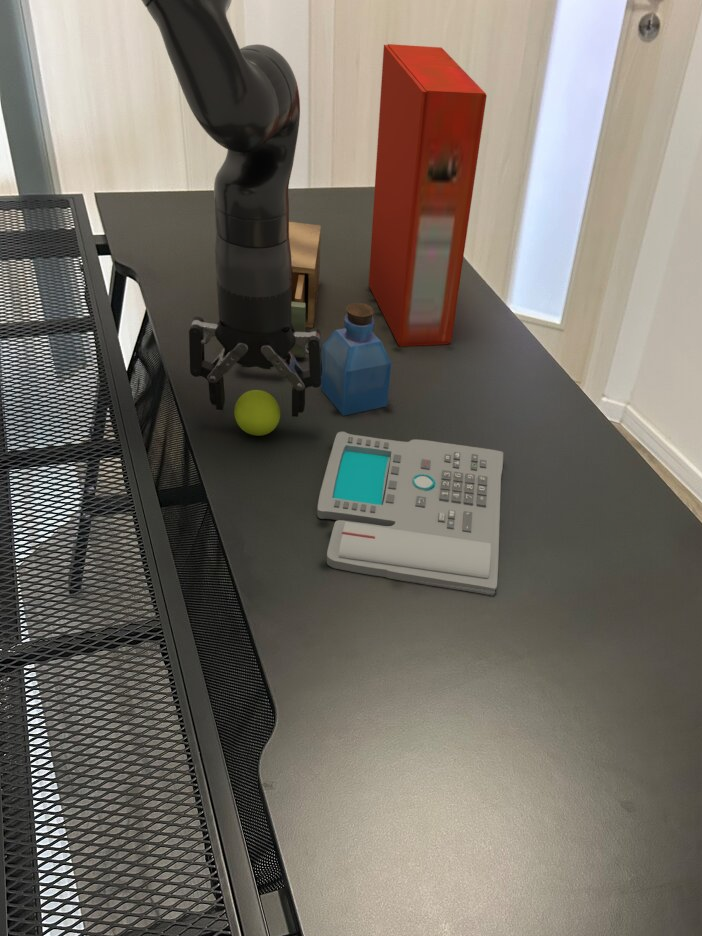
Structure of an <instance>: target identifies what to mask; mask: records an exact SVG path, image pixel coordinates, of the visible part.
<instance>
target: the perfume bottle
mask: <svg viewBox="0 0 702 936" xmlns="http://www.w3.org/2000/svg"><path fill="white" fill-rule="evenodd" d="M374 311H375V310H374V309H373V307H372V306H370V305H368V304H366V303H361V302H357V303H356V302H354V303H350V304H348V305H347V306H346V313H347V314H346V315H345V316H344V328H339V329H335V330H334V331H333V332H332V334H331V335H330V336H329V337H328V339H327V340H326V341H325V342H324V343H323V344H322V352H321V354H322V376H321V385H320V390H321V392H323V394H325V396H326V397H327V398H328V400H329V401H330V402H331V403H332V405H333V406H334V407H335V408H336V410H338V411H339V413H340V414H341V416H342V417H343V416H348V415H349V416H350V415H353V414H358V413H362V412H367V411H372V410H377V409H381V408H385V407H388V401H389V392H390V381H391V373H392V372H391V371H392V361H391V359H390V357H389V355H388V353H387V351H386V348H385V347H384V344H383V343H382V340H380V339H379V338H378V337H377V335H376V334H375V333H374V332H373V331H374V327H375V319H374V317H373V315H374V313H375V312H374Z"/></svg>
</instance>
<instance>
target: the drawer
mask: <svg viewBox="0 0 702 936" xmlns="http://www.w3.org/2000/svg"><path fill="white" fill-rule="evenodd" d="M291 281H292V283H291V286H292V292H291V322H292V326H293V328H294V330H295V332H306V327H305V319H306V273H299V272H293V274H292V279H291ZM290 351H291V352H292V354H293V355H294V356H303V357H304V356H305V353H304V352H303V351H302V348H301V346H300V345H299V344H295V345H294V347H293V348H292V349H291V350H290Z"/></svg>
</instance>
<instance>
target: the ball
mask: <svg viewBox="0 0 702 936" xmlns="http://www.w3.org/2000/svg"><path fill="white" fill-rule="evenodd" d="M233 409H234V410H233V412H234V419H235V422H236V424H237V425H238V426H239V428H240V429H241V430H242V431H243V432H245V433H246V434H249V435H251V436H256V437H261V436H266V435H268V434H270V433H271V432H273V431H274V430H275V429H276V428H277V426H278V425H279V423H280V418H281V409H280V405H279V403H278V401H277V400H276V399H275V397H274V396H273V395H271V394H270V393H269V392H267V391H265V390H262V389H251V390H248V391H245V392H244V393H242V394H241V395H239V398H238V399H237V400H236V402H235V404H234V408H233Z"/></svg>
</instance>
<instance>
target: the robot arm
mask: <svg viewBox="0 0 702 936" xmlns="http://www.w3.org/2000/svg"><path fill="white" fill-rule="evenodd" d="M141 2H142V4H143V5H144V7H145V8H146V9H147V12H148V13H149V15H150V16H151V18H152V20H153V21H154V22H155V24H156V26H157V27H158V30H159V33H160V36H161V37H162V41H163V43H164V46H165V50H166V53H167V56H168V59H169V60H170V63H171V65H172V68H173V70H174V73H175V75H176V77H177V81H178V83H179V86H180V89H181V91H182V94H183V95H184V98H185V99H186V103H187V104H188V107H189V109H190V110H191V113H192V114H193V116H194V118H195V120H196V121H197V122H198V124H199V125H200V127H202V129H203V130H204V131H205V133H206V134H207V135H208V136H209V137H210V138H211V139H212V140H213V141H214V142H215V143H216V144H218V145H219V146H221V147H223V148H224V149H225V150H227V152H226V156H225V159H224V161H223V163H222V165H221V166H220V168H219V169H218V171H217V173H216V175H215V178H214V183H213V184H214V185H213V202H214V203H213V204H214V218H215V245H214V246H215V247H214V256H215V257H214V259H215V260H214V261H215V274H216V288H217V289H216V292H217V304H218V305H217V307H218V322H217V323H211V322H205V320H204V318H202V317H201V316H199V315H196V316H194V317H193V318H192V321H191V324H190V327H189V330H188V342H189V343H188V346H189V349H188V351H189V373H190V375H191V376H193V377H196V378H198V377H202V378H204V379H205V380H206V381H207V384H208V393H209V394H208V395H209V402H210V404H211V406H215V409H216V411H224V407H225V404H226V403H225V402H226V395H225V394H226V393H225V380H224V379H225V378H224V375H225V374H227V373H229V371H231V369H232V368H233V367H234V366H235V365H236V364H239V365H241V367H242V368H256V367H257V368H259V369H263V370H271V369H272V368H275V369H276V370H277V372H278V373H279V374H280V376H282V378H283V379H286V380H287V382H289V383H290V385H291V386H292V387H291V417H294V418H299V413H301V414H303V413H304V412H305V411H304V410H305V406H306V389H308V388H310V387H312V388H319V387H321V379H322V332H321V330H320V329H319V328H317V327H313V328H310V330H309V331H308V332H307V331H305V332H295V330H294V328H293V326H292V322H291V292H292V286H291V283H292V281H291V279H292V274H293V270H292V262H291V249H290V242H289V222H290V199H289V188H290V187H289V185H290V180H291V175H292V171H293V167H294V161H295V154H296V148H297V142H298V136H299V128H300V119H301V99H300V91H299V86H298V82H297V79H296V75H295V73H294V71H293V69H292V67H291V65H290V63H289V62H288V60H286V58H285V57H284V56H283V55H282V54H281V53H280V52H279V51H277V50H276V49H274V48H273V47H270V46H269V45H265V44H256V43H255V44H250V45H246V46H245V45H244V46H243V47H241V48H240V46H239V44H238V42H237V39H236V37H235V34H234V32H233V30H232V26H231V25H230V22H229V20H228V17H227V13H228V11H229V9H230V7H231V4H232V0H141ZM212 337H215V338H216V340H217V341H218V342H219V344H220V345H221V346H222V349H221V350H220V352H219V354H218V355H217V357H215V359H214V360H213V361H212V362H210V361H208V360H205V358H206V357H205V345H207V344H208V343H210V340H211V338H212ZM295 344H299V345H300V346H301V348H302V351H303V352H304V355H305V354H306V355H308V367H309V368H308V369H309V370H304V369H303V368H302V366H301V365H300V364H299V362H298V361H297V359H296V355H293V354H292V352H291V351H290V350H291V349H292V348H293V347H294V345H295Z"/></svg>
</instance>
